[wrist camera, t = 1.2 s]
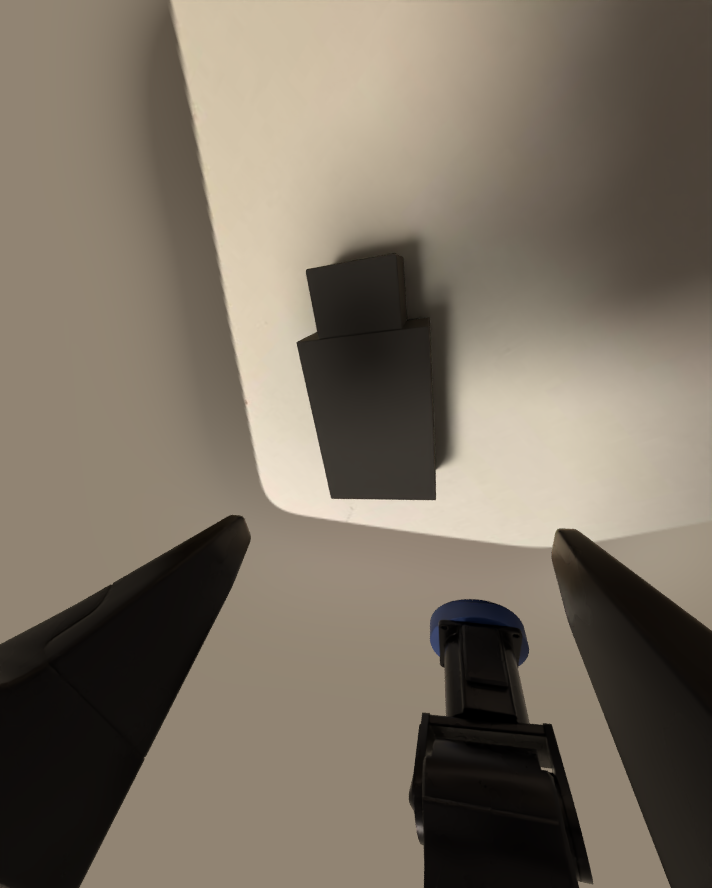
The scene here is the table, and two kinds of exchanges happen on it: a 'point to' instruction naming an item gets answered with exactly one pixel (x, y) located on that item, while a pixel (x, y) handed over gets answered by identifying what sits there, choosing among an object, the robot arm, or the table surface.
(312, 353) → the small black block
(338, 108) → the table surface
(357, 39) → the table surface
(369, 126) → the table surface
